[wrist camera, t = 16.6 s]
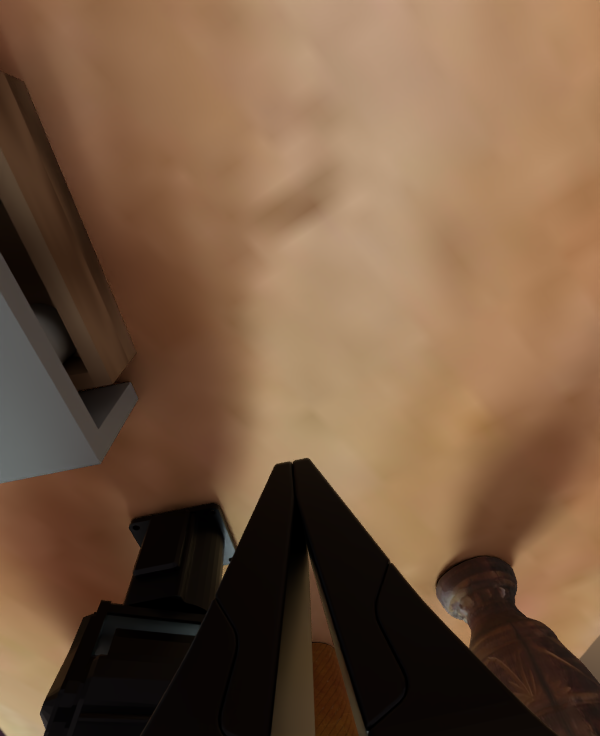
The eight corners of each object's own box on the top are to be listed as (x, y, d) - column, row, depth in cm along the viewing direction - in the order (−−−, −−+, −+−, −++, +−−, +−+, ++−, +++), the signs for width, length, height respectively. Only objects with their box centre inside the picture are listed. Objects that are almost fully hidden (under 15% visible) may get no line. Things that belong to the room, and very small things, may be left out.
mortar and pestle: (457, 526, 29) (760, 1041, 12) (546, 526, 30) (943, 989, 13) (419, 605, 34) (587, 1045, 17) (497, 602, 36) (730, 1008, 18)
